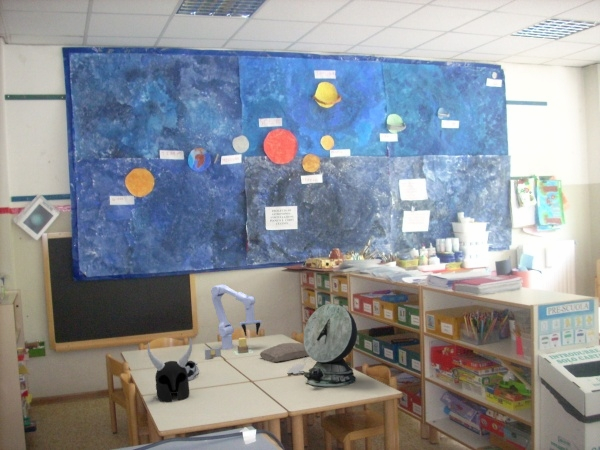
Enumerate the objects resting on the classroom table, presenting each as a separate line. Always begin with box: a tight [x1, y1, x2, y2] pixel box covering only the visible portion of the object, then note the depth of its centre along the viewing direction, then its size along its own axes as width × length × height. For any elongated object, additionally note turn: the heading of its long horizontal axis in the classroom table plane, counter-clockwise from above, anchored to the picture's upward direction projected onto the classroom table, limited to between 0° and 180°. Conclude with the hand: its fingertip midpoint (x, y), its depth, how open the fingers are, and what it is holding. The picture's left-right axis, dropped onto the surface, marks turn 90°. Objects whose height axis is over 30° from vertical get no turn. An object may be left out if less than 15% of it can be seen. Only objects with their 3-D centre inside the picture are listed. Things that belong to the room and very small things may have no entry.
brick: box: [237, 337, 248, 347], centre depth 405 cm, size 4×4×5 cm
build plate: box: [232, 348, 254, 356], centre depth 406 cm, size 12×12×1 cm
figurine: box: [287, 357, 312, 377], centre depth 344 cm, size 14×4×9 cm, turn 101°
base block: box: [237, 345, 249, 354], centre depth 406 cm, size 6×6×4 cm
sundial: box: [303, 303, 358, 387], centre depth 323 cm, size 31×32×40 cm
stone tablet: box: [259, 342, 310, 363], centre depth 388 cm, size 20×8×30 cm
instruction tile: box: [204, 347, 222, 360], centre depth 397 cm, size 2×10×6 cm, turn 104°
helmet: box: [146, 337, 193, 403], centre depth 317 cm, size 22×19×30 cm
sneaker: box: [185, 360, 200, 382], centre depth 354 cm, size 10×20×10 cm, turn 177°
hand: (251, 335), depth 412 cm, fingers open, 7 cm apart
